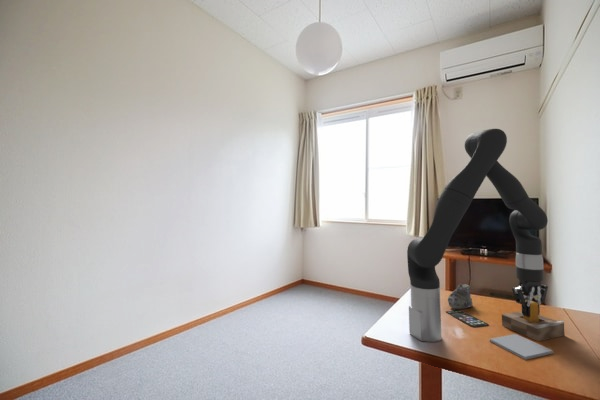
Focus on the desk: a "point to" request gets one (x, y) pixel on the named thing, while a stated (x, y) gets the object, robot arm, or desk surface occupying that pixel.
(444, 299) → the desk surface
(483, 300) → the desk surface
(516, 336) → the mat
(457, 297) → the mineral rock
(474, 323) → the smartphone
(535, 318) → the supplement box
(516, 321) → the box
